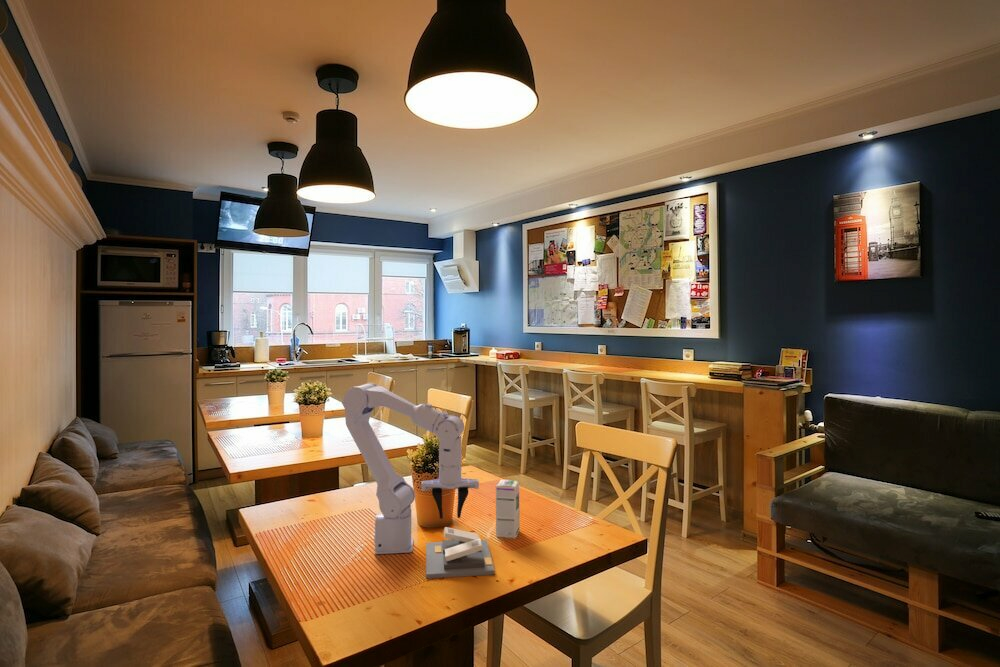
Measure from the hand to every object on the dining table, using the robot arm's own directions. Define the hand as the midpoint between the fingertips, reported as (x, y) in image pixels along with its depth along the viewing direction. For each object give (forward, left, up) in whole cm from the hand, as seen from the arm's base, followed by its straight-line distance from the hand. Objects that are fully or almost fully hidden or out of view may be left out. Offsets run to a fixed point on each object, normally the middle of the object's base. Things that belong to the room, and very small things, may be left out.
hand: (450, 516), depth 134 cm
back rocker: (+3, 0, -5) cm, 6 cm away
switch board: (+2, -4, -9) cm, 10 cm away
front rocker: (+3, -8, -5) cm, 10 cm away
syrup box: (+16, +10, -10) cm, 22 cm away
